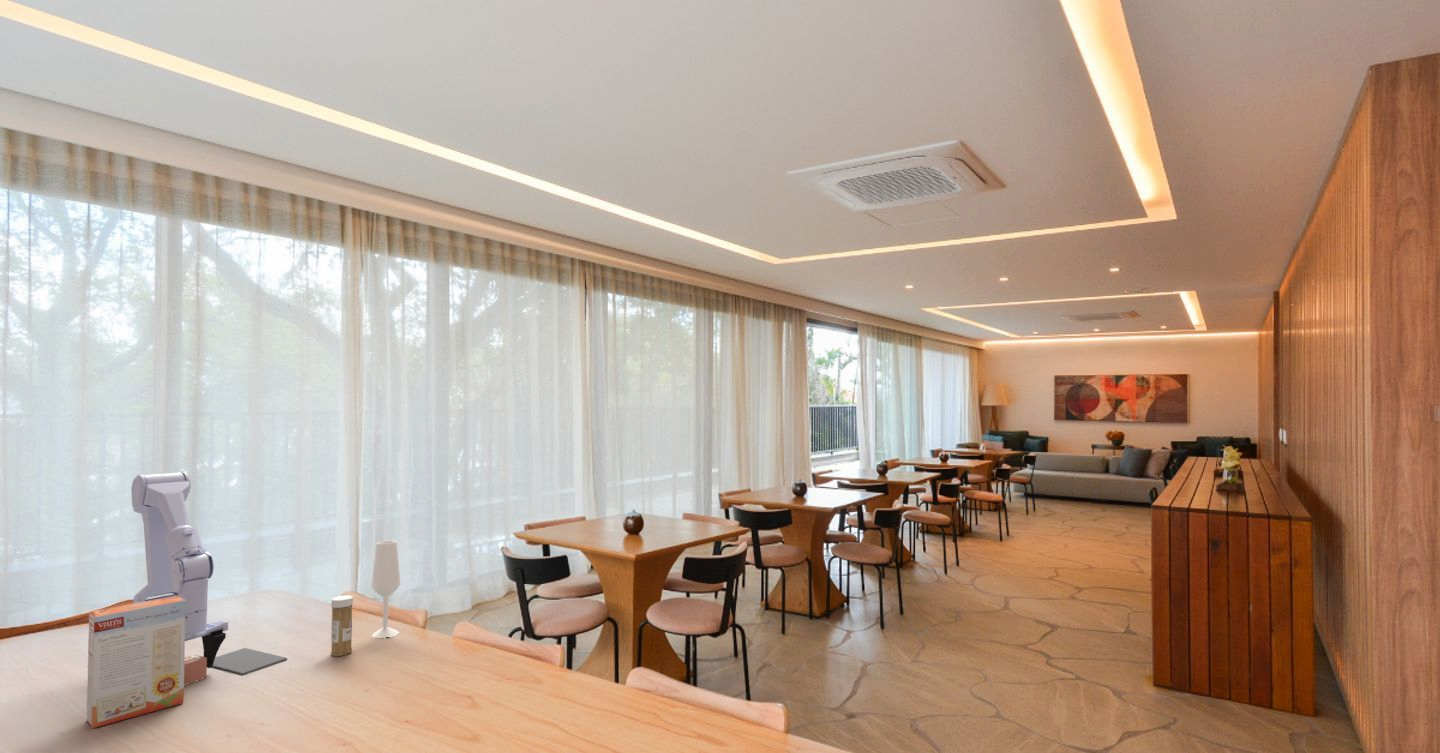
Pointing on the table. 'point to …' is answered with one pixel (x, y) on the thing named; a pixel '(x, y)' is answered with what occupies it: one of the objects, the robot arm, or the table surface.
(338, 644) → the sprinkles bottle
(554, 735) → the table surface
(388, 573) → the champagne flute
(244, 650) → the charcoal mat
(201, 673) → the lettered cube
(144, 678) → the cracker box
